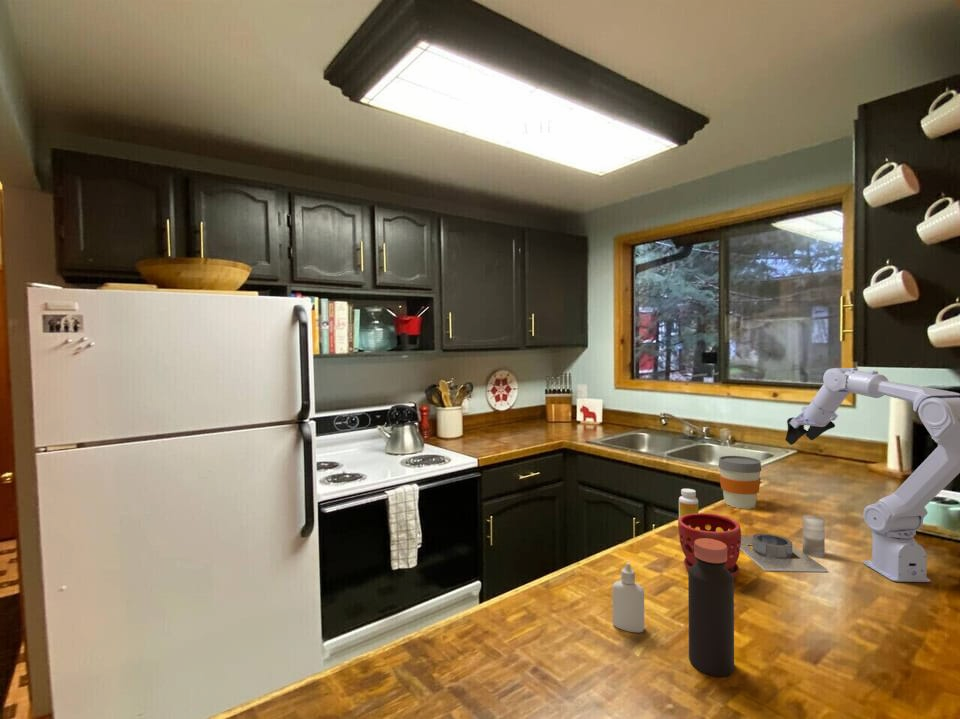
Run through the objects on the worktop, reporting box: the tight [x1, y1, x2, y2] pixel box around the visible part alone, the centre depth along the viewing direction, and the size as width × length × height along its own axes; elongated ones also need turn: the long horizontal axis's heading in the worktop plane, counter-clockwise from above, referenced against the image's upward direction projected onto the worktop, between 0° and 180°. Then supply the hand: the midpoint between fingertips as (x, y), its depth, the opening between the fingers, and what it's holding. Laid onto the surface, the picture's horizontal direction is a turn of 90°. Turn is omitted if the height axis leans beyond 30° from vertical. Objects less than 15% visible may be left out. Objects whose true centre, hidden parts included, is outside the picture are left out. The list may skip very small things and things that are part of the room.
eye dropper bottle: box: [611, 562, 645, 633], centre depth 89 cm, size 4×6×12 cm
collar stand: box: [740, 533, 828, 573], centre depth 120 cm, size 20×14×3 cm
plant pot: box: [677, 512, 742, 579], centre depth 110 cm, size 13×13×12 cm
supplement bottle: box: [678, 488, 699, 519], centre depth 141 cm, size 5×5×10 cm
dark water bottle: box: [687, 538, 735, 677], centre depth 78 cm, size 7×7×20 cm
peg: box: [802, 514, 826, 559], centre depth 119 cm, size 4×4×9 cm
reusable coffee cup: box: [718, 455, 762, 510], centre depth 157 cm, size 13×13×15 cm
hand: (799, 439), depth 135 cm, fingers open, 7 cm apart
